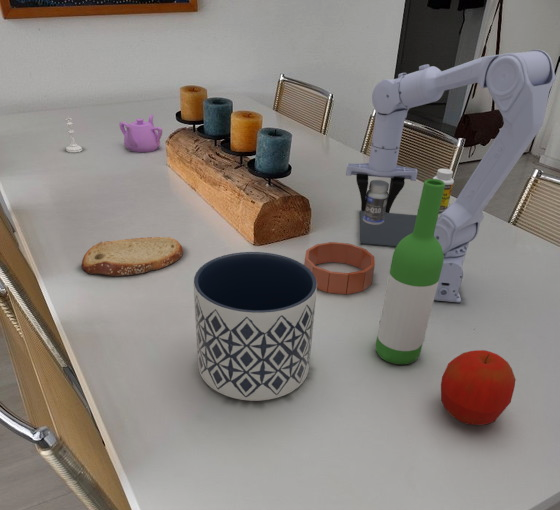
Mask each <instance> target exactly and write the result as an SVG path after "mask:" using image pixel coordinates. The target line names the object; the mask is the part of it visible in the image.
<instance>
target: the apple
mask: <svg viewBox="0 0 560 510" xmlns="http://www.w3.org/2000/svg"><path fill="white" fill-rule="evenodd" d="M516 380H517V379H516V377H515V374H514V371H513V368H512V367H511V365H510V363H509V362H508V360H506V359H505V358H504V357H502V356H501V355H499V354H497V353H495V352H492V351H488V350H485V349H478V350H468V351H465V352H462V353H460V354H459V355H458V356H456V357H454V358H453V359H452V360H450V361H449V362H448V364H447V365H446V368H445V370H444V372H443V375H442V377H441V382H440V401H441V404H442V405H443V408H444V409H445V410H446V411H447V412H448V413H449V415H450V416H452V417H453V418H454V419H455V420H456V421H458V422H461V423H462V424H466V425H471V426H477V425H479V426H480V425H482V426H483V425H484V426H485V425H488V424H491V423H495V422H496V421H497V419H498V418H500V416H501V414H502V413H503V412H504V411H506V409H507V408H508V406H510V404H511V402H512V399H513V395H514V390H515V386H516Z"/></svg>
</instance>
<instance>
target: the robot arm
mask: <svg viewBox="0 0 560 510" xmlns="http://www.w3.org/2000/svg"><path fill="white" fill-rule="evenodd" d="M397 76H398V77H397V78H392V79H388V78H384V79H382V80H381V81H379V82H378V83H377V84H376V85H375V86H374V87H373V90H372V94H371V102H372V106H373V108H374V110H375V118H374V124H373V131H372V140H371V143H370V144H371V145H370V150H369V151H370V153H369V159H368V162H361V163H358V162H357V163H350V162H349V163H348V162H347V163H346V169H345V176H347V177H348V176H349V177H351V176H355V178H356V184H357V187H358V190H359V196H360V201H361V202H360V203H361V205H360V211H365V203H366V194H367V191H368V189H369V188H368V187H369V177H375V178H387V179H390V181H389V182H390V183H389V188H388V194H389V197H388V202H387V208H386V213H391V212H390V211H391V209H392V206H393V204H394V202H395V200H396V198H397V197H398V195H399V194H400V192H401V191H402V190H403V188H404V187H405V184H406V183H405V180H409V181H411V182H416V181H417V178H418V169H417V168H413V167H406V166H401V165H398V159H399V154H400V148H401V141H402V136H403V131H404V125H405V120H406V119H407V116H408V112H409V110H410V109H413V108H415V107H419V106H423V105H427V104H431V103H435V102H437V101H439V100H440V99H441V98H442V97H443V95H444V93H445V91H449V90H452V89H456V88H461V87H465V86H469V85H473V84H477V85H479V87H480V88H481V89H486V88H487V90H488V93H489V95H490V97H491V98H492V100H493V103H494V104H495V105H496V107H497V109H498V111H499V113H500V114H501V116H502V122H503V125H502V127H501V129H500V130H499V132H498V134H497V135H496V136H495V138H494V140H493V141H492V143H491V145H490V146H489V148H488V149H487V151H485V154H484V155H483V157H482V158H481V160H480V161H479V163H478V165H477V167H476V168H475V169H474V170H473V173H471V176H470V177H469V178H468V180H467V182H466V183H465V185H464V186H463V188H462V190H461V191H460V193H459V194H458V196H457V197H456V199H455V201H454V202H453V203H452V204H450V205H448V207H447V209H446V210H445V211H443V212H441V213H440V215H439V216H438V218H437V223H436V227H435V232H434V237H435V238H436V239H437V240H438V242H439V243H440V245H441V247H442V250H443V255H444V261H443V266H442V270H441V273H440V277H439V282H438V286H437V290H436V294H435V298H434V301H437V302H439V301H440V302H450V303H461V302H462V299H461V295H460V288H461V285H462V281H463V278H464V268H463V265H464V261H465V258H466V254H467V251H468V248H469V244H470V243H471V242H473V241H474V240H475V239H476V238H477V235H478V234H479V230H480V227H481V226H480V224H481V223H482V222H483V220H484V218H485V215H484V213H483V211H484V210H485V209H486V207H487V205H488V204H489V203H490V202H491V200H492V198H493V197H494V196H495V194H496V193H497V191H498V190H499V189H500V187H501V186H502V184H503V183H504V182H505V180H506V179H507V177H508V176H509V174H510V172H511V171H512V170H513V169H514V167H515V165H516V164H517V163H518V161H519V160H520V158H521V157H522V156H523V154H524V153H525V151H526V150H527V148H528V147H529V146H530V145H531V143H532V142H533V140H534V138H535V137H536V136H537V134H538V133H539V132H540V130H541V128H542V127H543V125H544V122H545V115H546V111H547V106H548V101H549V94H550V90H551V88H552V87H553V85H554V83H555V81H556V79H557V78H556V72H555V68H554V63H553V60H552V58H551V56H550V54H549V53H547V52H546V51H544V50H542V49H538V48H537V49H532V50H528V51H523V52H522V51H520V52H506V53H503V54H502V53H501V54H494V55H485V56H481V57H478V58H476V59H473V60H470V61H467V62H464V63H461V64H459V65H455V66H453V67H450V68H448V69H445V70H441V69H440V68H438V67H437V66H434V65H433V66H430V64H428V63H427V64H423V65H420V66H418V70H416V71H413V72H410V73H407V72H401V73H399V74H397Z"/></svg>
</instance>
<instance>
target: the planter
mask: <svg viewBox="0 0 560 510" xmlns="http://www.w3.org/2000/svg"><path fill="white" fill-rule="evenodd" d="M317 290H318V289H317V281H316V278H315V276H314V274H313V273H312V272H311V270H310V269H309V268H307V267H306V266H305V265H304V264H303V263H302V262H300V261H298V260H296V259H294V258H292V257H288V256H285V255H282V254H277V253H271V252H264V251H263V252H261V251H241V252H234V253H228V254H224V255H221V256H217V257H214V258H213V259H210V260H209V261H207V262H206V263H204V264H203V265H201V266H200V267H199V269H198V270H197V271H196V272H195V274H194V277H193V298H194V299H193V301H194V316H195V317H194V318H195V333H196V349H197V350H196V351H197V364H198V371H199V374H200V376H201V378H202V380H203V381H204V382H205V384H206V385H208V387H210V388H211V389H212V390H214V391H216V392H217V393H219V394H221V395H223V396H225V397H228V398H232V399H236V400H241V401H252V402H256V401H257V402H258V401H259V402H260V401H261V402H262V401H268V400H273V399H277V398H282V397H283V396H286V395H288V394H290V393H292V392H294V391H295V390H296V389H298V388H299V387H300V386H301V385H302V384H303V383H304V382H305V380H306V379H307V377H308V374H309V370H310V369H309V368H310V362H311V351H312V341H313V332H314V331H313V330H314V323H315V322H314V321H315V312H316V300H317Z"/></svg>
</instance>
